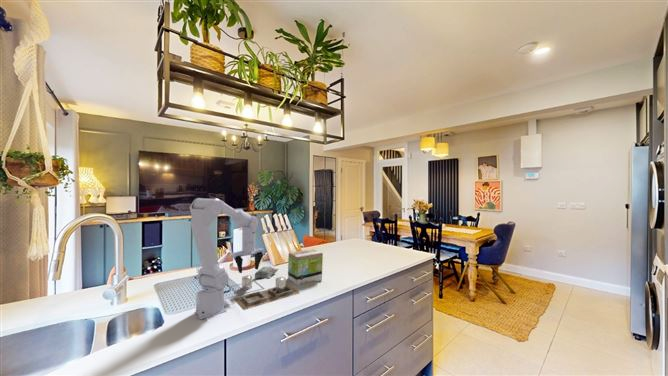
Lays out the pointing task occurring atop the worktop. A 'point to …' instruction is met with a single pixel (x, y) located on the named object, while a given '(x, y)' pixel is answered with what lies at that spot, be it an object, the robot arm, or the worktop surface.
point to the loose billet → (247, 282)
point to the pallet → (263, 297)
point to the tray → (247, 292)
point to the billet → (280, 285)
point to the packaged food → (265, 272)
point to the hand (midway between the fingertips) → (248, 270)
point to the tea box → (305, 266)
